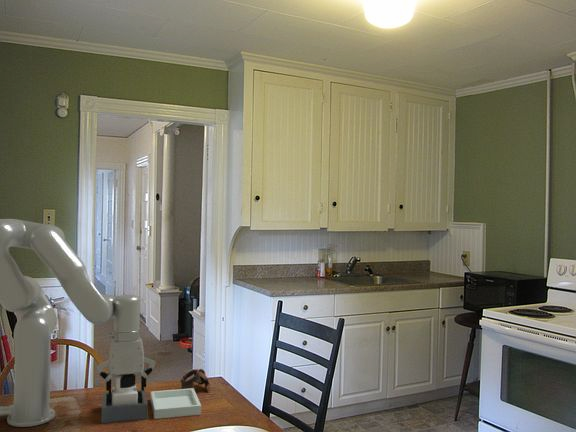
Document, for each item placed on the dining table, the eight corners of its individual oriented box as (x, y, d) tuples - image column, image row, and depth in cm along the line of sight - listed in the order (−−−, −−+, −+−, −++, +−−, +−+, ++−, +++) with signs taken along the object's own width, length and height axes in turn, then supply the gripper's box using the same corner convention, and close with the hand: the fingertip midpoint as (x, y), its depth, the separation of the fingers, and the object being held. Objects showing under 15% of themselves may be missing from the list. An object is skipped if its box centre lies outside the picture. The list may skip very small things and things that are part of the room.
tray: (154, 419, 154) (154, 409, 154) (150, 400, 169) (150, 391, 169) (200, 414, 158) (201, 405, 158) (193, 396, 173) (193, 388, 173)
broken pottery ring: (209, 397, 174) (198, 377, 173) (185, 407, 176) (174, 387, 174) (216, 377, 186) (205, 359, 184) (194, 386, 188) (183, 368, 186)
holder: (101, 423, 149) (101, 408, 149) (102, 407, 162) (102, 392, 161) (147, 419, 153) (147, 404, 153) (144, 403, 166) (145, 389, 166)
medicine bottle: (135, 407, 162) (136, 369, 162) (137, 416, 155) (138, 376, 155) (111, 409, 160) (112, 371, 159) (112, 418, 153) (113, 378, 153)
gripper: (96, 340, 151) (96, 398, 151) (156, 336, 157) (156, 392, 157) (97, 334, 158) (96, 389, 158) (154, 331, 164) (154, 384, 164)
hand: (126, 391), depth 158 cm, fingers open, 9 cm apart
